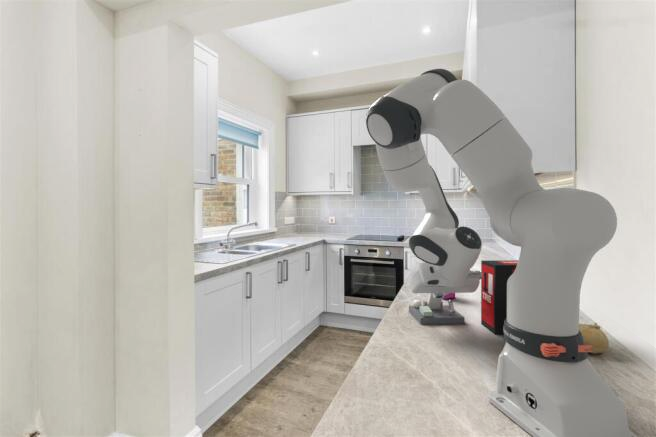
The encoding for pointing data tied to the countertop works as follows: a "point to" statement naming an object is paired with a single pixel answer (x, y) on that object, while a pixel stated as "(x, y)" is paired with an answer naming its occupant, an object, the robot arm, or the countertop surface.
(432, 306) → the lever
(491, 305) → the cleaning product box
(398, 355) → the countertop surface
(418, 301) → the button
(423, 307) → the rocker
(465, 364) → the countertop surface
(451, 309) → the toggle
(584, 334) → the onion
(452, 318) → the panel
